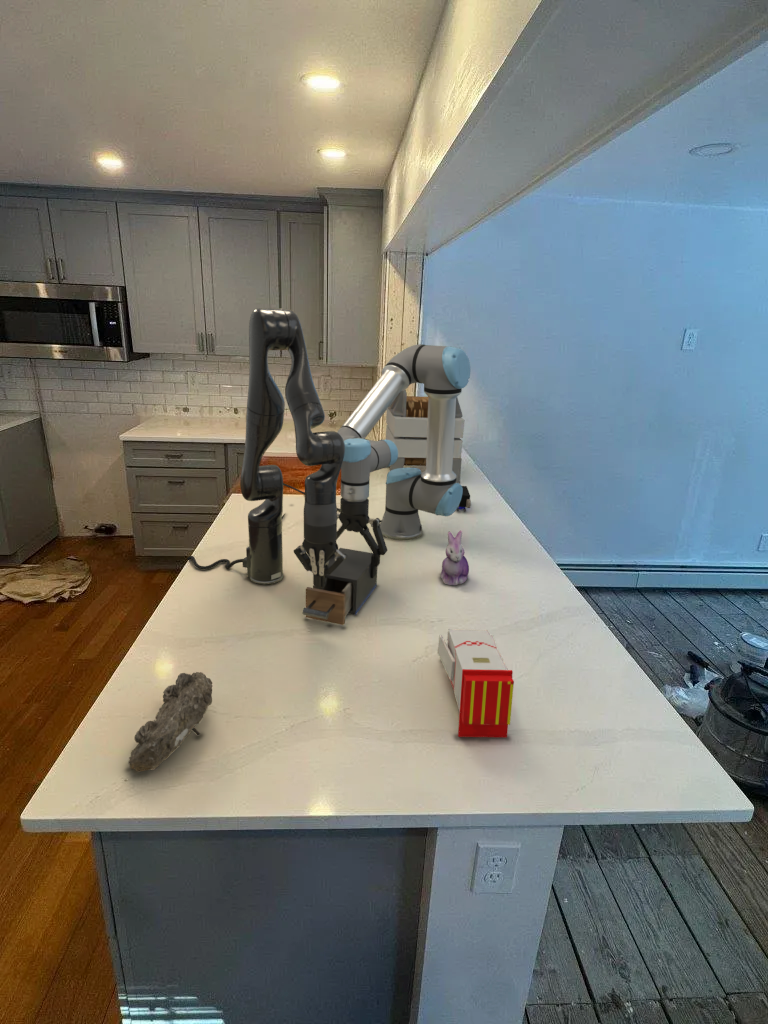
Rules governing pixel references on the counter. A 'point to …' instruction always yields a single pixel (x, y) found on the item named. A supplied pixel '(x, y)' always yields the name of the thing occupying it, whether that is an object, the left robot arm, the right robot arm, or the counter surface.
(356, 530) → the right robot arm
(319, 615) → the drawer
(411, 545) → the counter surface
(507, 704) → the toy
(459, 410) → the slatted crate
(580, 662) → the counter surface
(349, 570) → the cabinet
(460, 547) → the figurine
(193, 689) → the fossil
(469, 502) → the figurine character
